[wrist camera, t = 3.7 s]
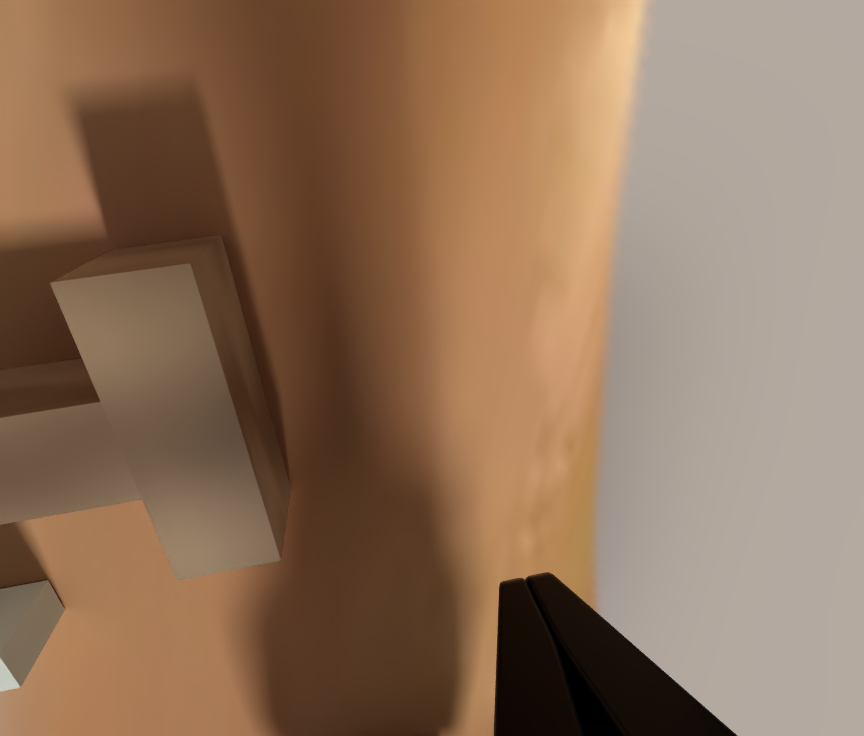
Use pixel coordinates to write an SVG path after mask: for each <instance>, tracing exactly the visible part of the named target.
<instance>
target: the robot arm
mask: <svg viewBox="0 0 864 736" xmlns="http://www.w3.org/2000/svg"><path fill="white" fill-rule="evenodd" d="M494 736H737V735H736V734H735V733H734V732H733V731H731V730H730V729H729V728H728V727H727V726H726V725H725V724H723V723H722V722H721V721H720V720H719V719H717V718H716V717H715V716H714V715H713V714H712V713H711V712H710V711H709V710H707V709H706V708H705V707H704V706H703V705H702V704H701V703H699V702H698V701H697V700H696V699H695V698H694V697H693V696H691V695H690V694H689V693H688V692H687V691H686V690H685V689H683V688H682V687H681V686H680V685H679V684H678V683H676V682H675V681H674V680H673V679H672V678H671V677H670V676H669V675H667V674H666V673H665V672H664V671H663V670H662V669H661V668H659V667H658V666H657V665H656V664H655V663H654V662H653V661H651V660H650V659H649V658H648V657H647V656H645V654H643V653H642V652H641V651H640V650H639V649H638V648H636V647H635V646H634V645H633V644H632V643H631V642H630V641H629V640H627V639H626V638H625V637H624V636H623V635H622V634H620V633H619V632H618V631H617V630H616V629H615V628H614V627H612V626H611V625H610V624H609V623H608V622H607V621H606V620H604V619H603V618H602V617H601V616H600V615H599V614H598V613H597V612H595V611H594V610H593V609H592V608H591V607H590V606H589V605H587V604H586V603H585V602H584V601H583V600H582V599H581V598H579V597H578V596H577V595H576V594H575V593H574V592H573V591H571V590H570V589H569V588H568V587H567V586H566V585H565V584H563V583H562V582H561V581H560V580H559V579H558V578H557V577H555V576H554V575H553V574H551V573H548V572H546V573H541V574H536V575H531V576H528V577H527V578H526V580H525V579H523V578H516V579H512V580H507V581H503V582H501V583H500V586H499V607H498V634H497V661H496V688H495V714H494Z"/></svg>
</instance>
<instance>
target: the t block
mask: <svg viewBox="0 0 864 736" xmlns="http://www.w3.org/2000/svg"><path fill="white" fill-rule="evenodd" d="M50 285H51V287H52V289H53V292H54V294H55V296H56V299H57V301H58V303H59V306H60V308H61V310H62V313H63V315H64V317H65V320H66V322H67V324H68V327H69V329H70V331H71V334H72V336H73V338H74V341H75V343H76V345H77V348H78V350H79V352H80V355H81V357H82V358H77V359H71V360H64V361H57V362H51V363H44V364H38V365H31V366H24V367H18V368H11V369H5V370H0V525H2V524H7V523H13V522H18V521H24V520H30V519H35V518H41V517H46V516H52V515H58V514H63V513H69V512H74V511H80V510H86V509H91V508H97V507H102V506H108V505H114V504H119V503H125V502H130V501H136V500H143V502H144V504H145V507H146V509H147V511H148V514H149V516H150V518H151V521H152V523H153V525H154V528H155V530H156V532H157V535H158V537H159V539H160V542H161V544H162V546H163V549H164V551H165V553H166V556H167V558H168V560H169V563H170V565H171V567H172V570H173V572H174V574H175V577H176V579H177V581H178V580H183V579H188V578H193V577H199V576H204V575H209V574H214V573H219V572H224V571H229V570H235V569H240V568H245V567H250V566H255V565H260V564H265V563H271V562H276V561H281V556H282V549H283V542H284V534H285V527H286V520H287V512H288V505H289V497H290V490H291V487H290V484H289V480H288V476H287V473H286V469H285V465H284V462H283V458H282V454H281V451H280V447H279V443H278V440H277V436H276V432H275V429H274V425H273V421H272V418H271V414H270V410H269V407H268V403H267V400H266V396H265V392H264V389H263V385H262V381H261V378H260V374H259V370H258V367H257V363H256V359H255V356H254V352H253V348H252V345H251V341H250V337H249V334H248V330H247V326H246V323H245V319H244V315H243V312H242V308H241V304H240V301H239V297H238V293H237V290H236V286H235V282H234V279H233V275H232V271H231V268H230V264H229V260H228V257H227V253H226V249H225V246H224V242H223V239H222V235H217V236H209V237H202V238H194V239H187V240H179V241H172V242H164V243H157V244H149V245H141V246H134V247H126V248H119V249H112V250H110V251H108V252H106V253H104V254H102V255H100V256H98V257H97V258H95V259H93V260H91V261H89V262H87V263H85V264H84V265H82V266H80V267H78V268H76V269H74V270H72V271H70V272H69V273H67V274H65V275H63V276H61V277H59V278H57V279H55V280H54V281H52V282H50Z"/></svg>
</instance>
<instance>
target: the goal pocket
mask: <svg viewBox="0 0 864 736" xmlns="http://www.w3.org/2000/svg"><path fill="white" fill-rule="evenodd" d="M64 610H65V609H64V607H63V605H62V604H61V602H60V600H59V598H58V597H57V595H56V593H55V591H54V590H53V588H52V586H51V584H50V583H49V581H48V580H46V581H40V582H35V583H30V584H25V585H19V586H14V587H9V588H3V589H0V692H1V691H6V690H10V689H15V688H20V687H21V686H22V684H23V682H24V681H25V679H26V677H27V675H28V674H29V672H30V670H31V668H32V666H33V665H34V663H35V661H36V659H37V658H38V656H39V654H40V652H41V651H42V649H43V647H44V645H45V644H46V642H47V640H48V638H49V637H50V635H51V633H52V631H53V630H54V628H55V626H56V624H57V623H58V621H59V619H60V617H61V616H62V614H63V612H64Z"/></svg>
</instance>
